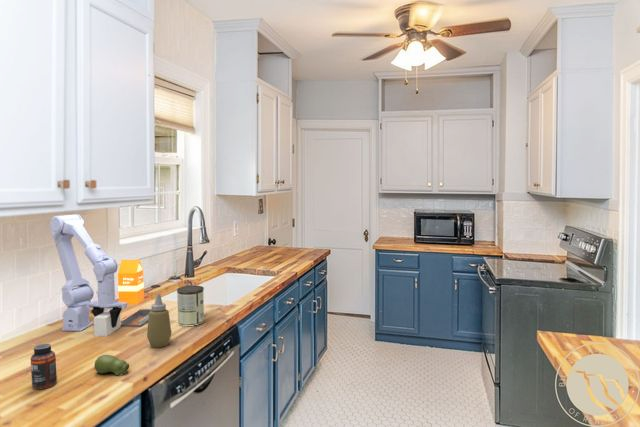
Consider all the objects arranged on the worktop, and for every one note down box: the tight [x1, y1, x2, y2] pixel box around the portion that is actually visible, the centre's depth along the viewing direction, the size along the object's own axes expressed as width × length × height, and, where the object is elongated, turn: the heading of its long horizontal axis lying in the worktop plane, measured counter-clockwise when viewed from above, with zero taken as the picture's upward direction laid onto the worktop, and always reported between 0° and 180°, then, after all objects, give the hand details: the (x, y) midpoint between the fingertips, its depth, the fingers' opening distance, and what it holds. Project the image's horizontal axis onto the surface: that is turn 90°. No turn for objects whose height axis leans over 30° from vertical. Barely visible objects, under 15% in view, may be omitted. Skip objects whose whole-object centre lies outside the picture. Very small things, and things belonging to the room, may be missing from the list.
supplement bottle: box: [30, 343, 58, 390], centre depth 122 cm, size 6×6×11 cm
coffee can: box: [176, 285, 205, 327], centre depth 176 cm, size 10×10×14 cm
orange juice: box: [117, 259, 145, 305], centre depth 205 cm, size 8×9×20 cm
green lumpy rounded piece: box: [93, 354, 130, 376], centre depth 131 cm, size 6×5×10 cm
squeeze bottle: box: [146, 293, 172, 348], centre depth 152 cm, size 8×8×18 cm
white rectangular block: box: [93, 310, 121, 337], centre depth 166 cm, size 10×4×7 cm, turn 178°
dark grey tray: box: [120, 308, 152, 328], centre depth 180 cm, size 16×8×2 cm, turn 178°
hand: (107, 326), depth 166 cm, fingers closed on white rectangular block, 4 cm apart
